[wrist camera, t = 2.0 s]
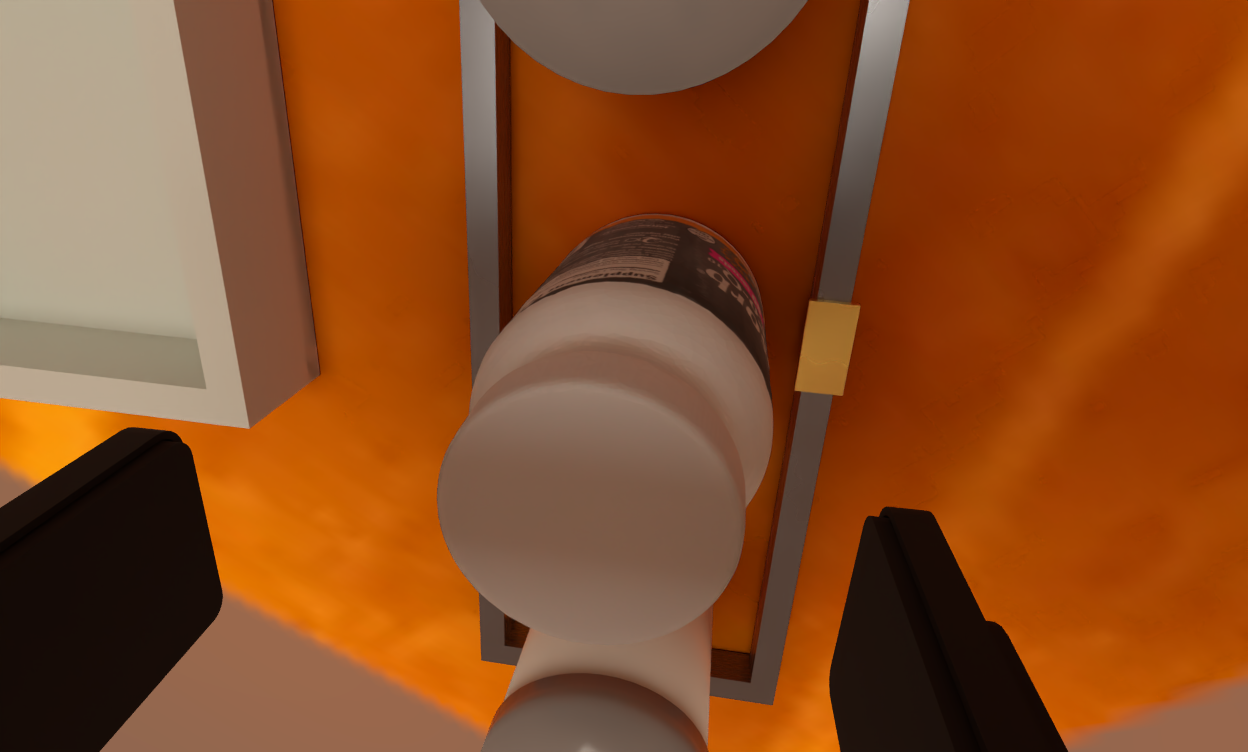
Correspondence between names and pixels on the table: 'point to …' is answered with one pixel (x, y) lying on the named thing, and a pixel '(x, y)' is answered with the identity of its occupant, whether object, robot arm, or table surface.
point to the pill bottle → (615, 438)
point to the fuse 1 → (642, 38)
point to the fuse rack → (823, 329)
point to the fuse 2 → (608, 695)
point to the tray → (149, 211)
